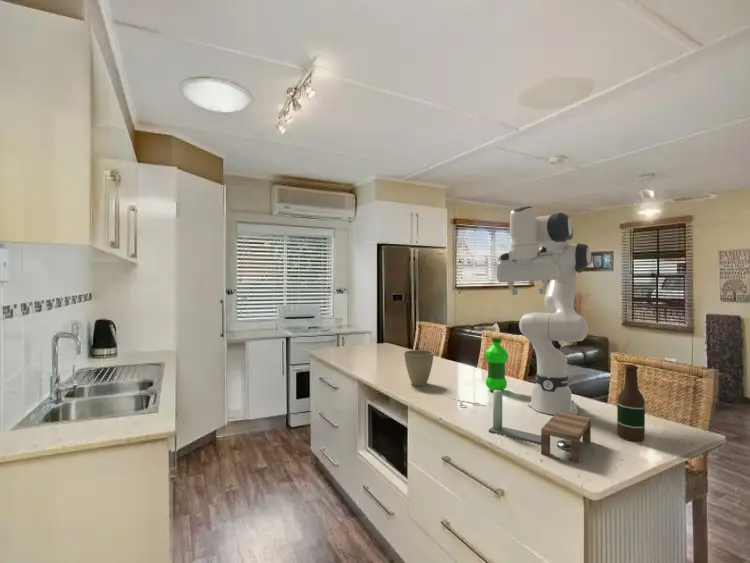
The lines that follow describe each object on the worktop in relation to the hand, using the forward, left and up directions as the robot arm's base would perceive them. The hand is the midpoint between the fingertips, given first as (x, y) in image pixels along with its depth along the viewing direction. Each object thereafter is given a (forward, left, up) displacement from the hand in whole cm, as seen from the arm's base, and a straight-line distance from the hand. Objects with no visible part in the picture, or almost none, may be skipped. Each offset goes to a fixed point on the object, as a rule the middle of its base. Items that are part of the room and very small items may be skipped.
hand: (528, 294), depth 135 cm
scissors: (-19, -34, -48) cm, 61 cm away
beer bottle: (-17, +28, -47) cm, 58 cm away
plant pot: (-32, -63, -47) cm, 85 cm away
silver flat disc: (+5, +13, -48) cm, 50 cm away
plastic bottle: (-45, -28, -47) cm, 71 cm away
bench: (+5, +13, -47) cm, 49 cm away
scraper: (+5, -2, -47) cm, 47 cm away
